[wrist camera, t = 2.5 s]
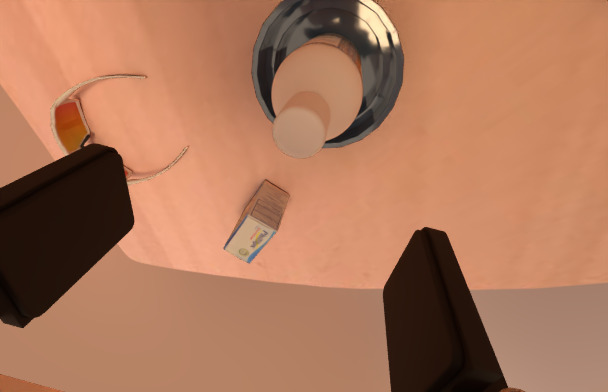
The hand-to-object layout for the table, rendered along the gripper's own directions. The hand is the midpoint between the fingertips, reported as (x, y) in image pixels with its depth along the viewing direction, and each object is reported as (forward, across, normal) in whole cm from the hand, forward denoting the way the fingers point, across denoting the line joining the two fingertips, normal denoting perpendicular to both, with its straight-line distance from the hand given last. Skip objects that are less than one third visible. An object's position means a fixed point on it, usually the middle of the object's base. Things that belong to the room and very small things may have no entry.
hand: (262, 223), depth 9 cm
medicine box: (+28, +5, +21) cm, 35 cm away
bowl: (+28, 0, 0) cm, 28 cm away
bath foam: (+27, 0, 0) cm, 27 cm away
